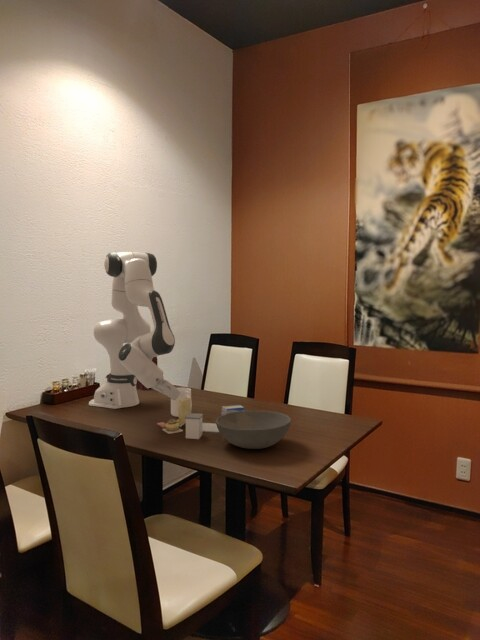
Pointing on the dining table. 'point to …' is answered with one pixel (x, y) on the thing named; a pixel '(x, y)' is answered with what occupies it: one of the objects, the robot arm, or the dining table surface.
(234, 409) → the medicine box
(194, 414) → the grey rectangular block
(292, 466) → the dining table surface
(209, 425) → the mat
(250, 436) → the bowl
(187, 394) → the mug
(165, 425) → the marks
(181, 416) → the gold angular piece
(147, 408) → the dining table surface
